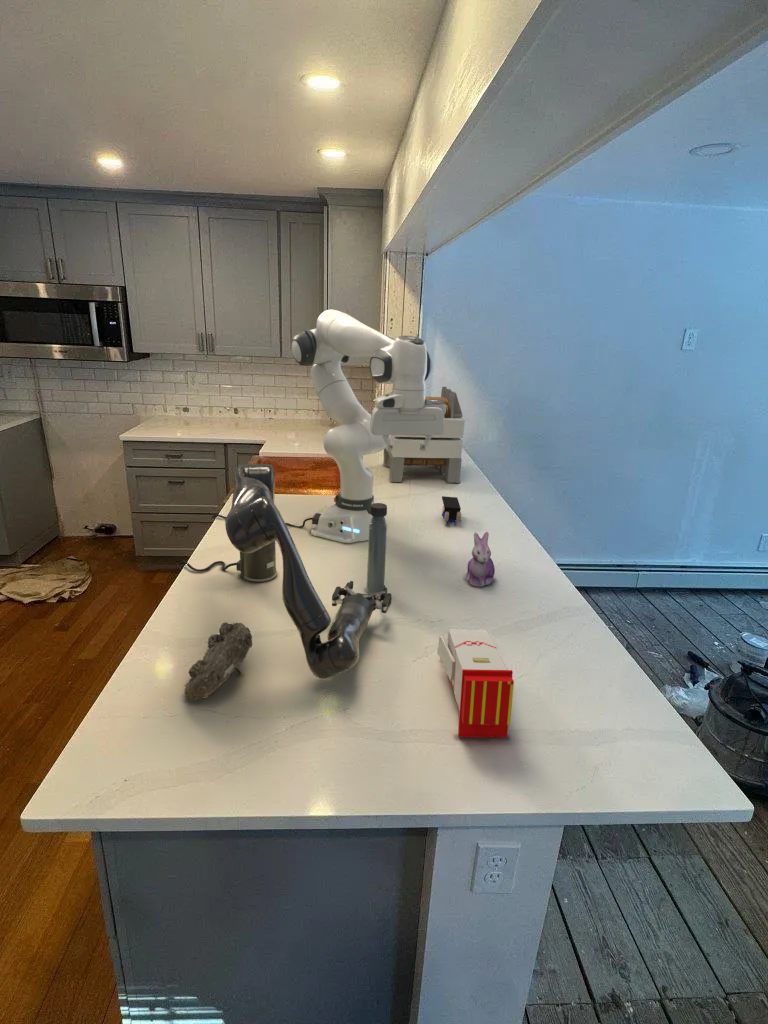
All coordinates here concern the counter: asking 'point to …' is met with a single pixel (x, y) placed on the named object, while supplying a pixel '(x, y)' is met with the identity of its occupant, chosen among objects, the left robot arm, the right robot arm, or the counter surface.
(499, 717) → the toy
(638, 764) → the counter surface
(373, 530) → the bottle
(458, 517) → the figurine character
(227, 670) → the fossil
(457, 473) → the transformer
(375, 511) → the cap
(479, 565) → the figurine
